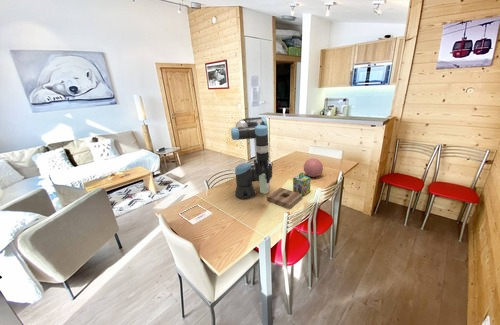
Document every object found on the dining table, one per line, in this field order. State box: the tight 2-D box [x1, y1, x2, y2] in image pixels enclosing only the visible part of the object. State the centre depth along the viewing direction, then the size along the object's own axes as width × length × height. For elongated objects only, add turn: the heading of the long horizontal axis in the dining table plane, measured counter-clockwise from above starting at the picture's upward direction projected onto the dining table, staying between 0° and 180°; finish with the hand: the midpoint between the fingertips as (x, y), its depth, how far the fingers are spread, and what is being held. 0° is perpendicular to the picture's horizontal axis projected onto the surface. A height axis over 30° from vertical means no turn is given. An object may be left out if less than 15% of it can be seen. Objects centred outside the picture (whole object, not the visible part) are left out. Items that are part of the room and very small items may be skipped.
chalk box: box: [292, 172, 312, 197], centre depth 151 cm, size 9×9×15 cm
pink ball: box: [303, 158, 324, 178], centre depth 176 cm, size 15×20×15 cm
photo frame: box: [178, 203, 214, 226], centre depth 137 cm, size 15×1×18 cm
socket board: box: [266, 187, 303, 210], centre depth 145 cm, size 18×16×4 cm
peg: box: [259, 173, 270, 195], centre depth 134 cm, size 4×4×12 cm
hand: (264, 186), depth 135 cm, fingers closed on peg, 4 cm apart
